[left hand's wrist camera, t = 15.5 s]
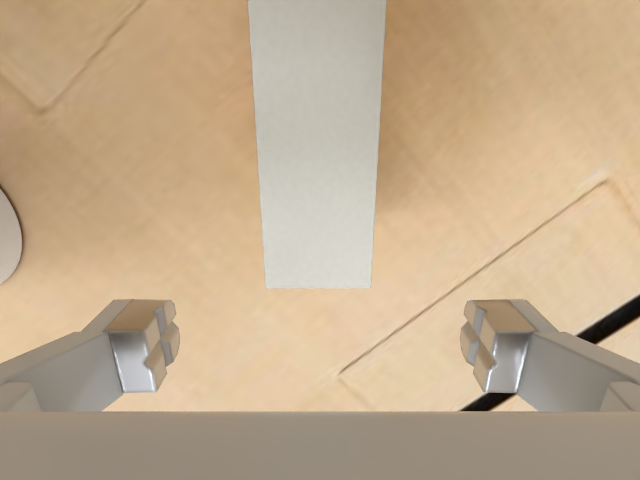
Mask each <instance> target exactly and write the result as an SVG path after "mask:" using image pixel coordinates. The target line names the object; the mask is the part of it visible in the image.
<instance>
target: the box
mask: <svg viewBox="0 0 640 480" xmlns="http://www.w3.org/2000/svg"><path fill="white" fill-rule="evenodd" d="M386 1H387V0H248V13H249V29H250V45H251V61H252V77H253V93H254V109H255V125H256V141H257V157H258V173H259V190H260V206H261V222H262V238H263V254H264V270H265V286H266V288H371V277H372V259H373V240H374V222H375V204H376V185H377V167H378V148H379V130H380V112H381V93H382V75H383V57H384V38H385V20H386Z"/></svg>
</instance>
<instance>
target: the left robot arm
mask: <svg viewBox="0 0 640 480" xmlns="http://www.w3.org/2000/svg"><path fill="white" fill-rule="evenodd" d="M21 252H22V234H21V229H20V225H19V221H18V218H17V216H16V213H15V211H14V209H13V207H12V205H11V204H10V202H9V200H8V199H7V197H6V196H5V194H4V193H3V191H2V190H1V189H0V284H2V283H3V282H4V281H6V280H7V279H8V278H9V277H10V276H11V275H12V273H13V272H14V271H15V269H16V267H17V265H18V263H19V260H20V257H21ZM175 315H176V310H175V305H174V303H173V302H172V301H171V300H143V299H136V300H134V299H118V300H113V301H112V302H111V303H110V304H109V305H108V306H107V307H106V308H105V309H104V310H103V311H102V312H101V313H100V314H99V315H98V316H97V317H96V318H94V319H93V320H92V321H91V322H90V323H89V324H88V325H87V326H86V327H85V328H84V329H83V330H82V331H81V332H74V333H71V334H69V335H67V336H64V337H62V338H59V339H57V340H55V341H52V342H50V343H48V344H45V345H43V346H41V347H38V348H36V349H34V350H31V351H29V352H27V353H24V354H22V355H20V356H17V357H15V358H13V359H10V360H8V361H6V362H3V363H1V364H0V480H640V364H639V363H636V362H634V361H632V360H629V359H627V358H625V357H622V356H620V355H618V354H615V353H613V352H611V351H608V350H606V349H604V348H601V347H599V346H597V345H594V344H592V343H590V342H587V341H585V340H583V339H580V338H578V337H576V336H573V335H571V334H569V333H566V332H559V331H558V330H557V329H556V328H555V327H554V326H553V325H552V324H551V323H550V322H549V321H548V320H547V319H546V318H545V317H544V316H543V315H541V314H540V313H539V312H538V311H537V310H536V309H535V308H534V307H533V306H532V305H531V304H530V303H529V302H528V301H527V300H524V299H508V300H507V299H506V300H470V301H467V303H466V305H465V310H464V315H465V317H466V318H467V320H468V322H467V323H466V324H465V325H464V326H463V327H462V328H461V335H460V342H461V350H462V353H463V356H464V358H465V360H466V362H468V363H469V364H471V365H472V366H474V371H473V374H474V376H475V378H476V380H477V381H478V383H479V385H480V387H481V388H482V390H483V392H498V393H517V395H519V396H520V397H521V398H522V399H524V400H525V401H526V402H528V403H529V404H530V405H532V406H533V407H534V408H535V409H537V410H538V411H539V412H101V411H102V410H103V409H105V408H106V407H107V406H109V405H110V404H111V403H113V402H114V401H115V400H116V399H118V398H119V397H120V396H122V395H123V393H141V392H157V390H158V389H159V387H160V385H161V383H162V381H163V380H164V378H165V376H166V374H167V371H166V366H168V365H169V364H171V363H172V362H174V360H175V358H176V356H177V353H178V349H179V345H180V334H179V328H178V327H177V326H176V325H175V324H174V323H173V322H172V320H173V318H174V317H175Z"/></svg>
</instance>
